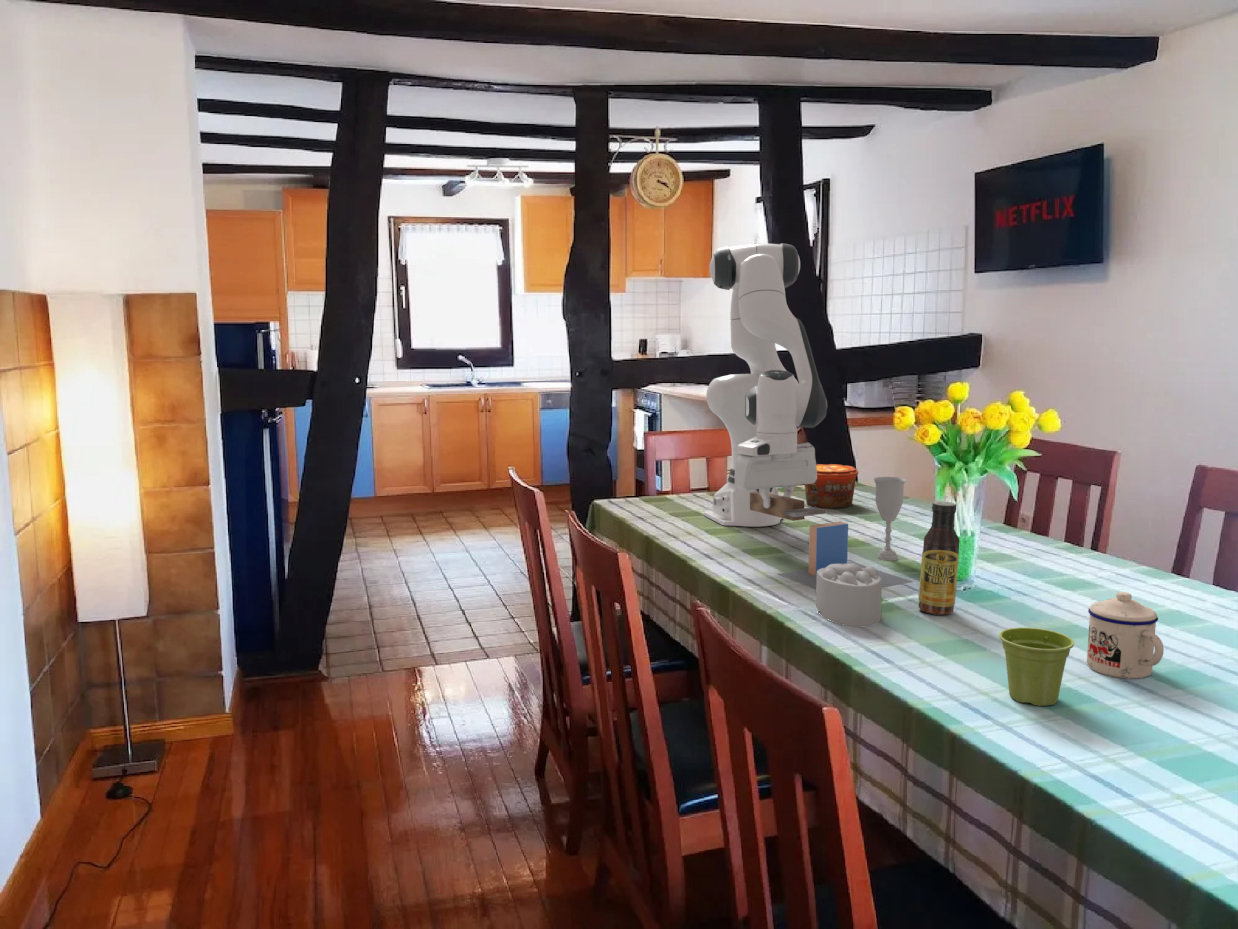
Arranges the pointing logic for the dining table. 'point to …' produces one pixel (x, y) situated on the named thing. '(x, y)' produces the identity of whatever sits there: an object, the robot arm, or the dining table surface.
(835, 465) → the food container
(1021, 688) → the plant pot
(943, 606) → the sauce bottle
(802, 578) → the mat
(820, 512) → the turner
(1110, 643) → the teacup with lid
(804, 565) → the dining table surface
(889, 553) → the chalice
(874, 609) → the lumpy-topped squat cylinder
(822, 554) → the tile
